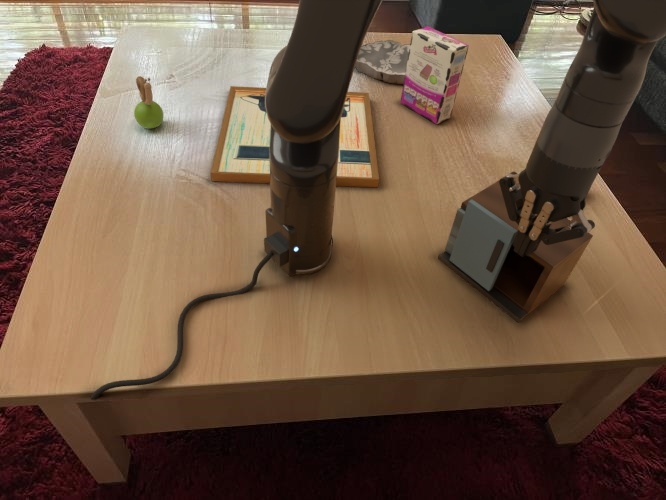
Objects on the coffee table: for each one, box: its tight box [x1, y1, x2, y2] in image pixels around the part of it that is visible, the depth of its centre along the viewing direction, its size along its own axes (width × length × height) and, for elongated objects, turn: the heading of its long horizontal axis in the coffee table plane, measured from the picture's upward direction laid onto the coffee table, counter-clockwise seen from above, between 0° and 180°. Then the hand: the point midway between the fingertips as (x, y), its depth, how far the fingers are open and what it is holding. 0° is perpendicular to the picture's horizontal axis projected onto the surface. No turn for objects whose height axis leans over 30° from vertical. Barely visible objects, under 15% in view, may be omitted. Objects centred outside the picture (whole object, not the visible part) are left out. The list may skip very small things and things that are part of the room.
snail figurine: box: [133, 75, 164, 130], centre depth 101 cm, size 5×6×12 cm
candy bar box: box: [399, 25, 470, 125], centre depth 110 cm, size 11×5×16 cm, turn 42°
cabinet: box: [437, 180, 594, 323], centre depth 80 cm, size 12×16×11 cm
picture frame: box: [209, 85, 380, 188], centre depth 105 cm, size 30×2×30 cm
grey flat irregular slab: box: [355, 39, 410, 85], centre depth 127 cm, size 20×17×3 cm
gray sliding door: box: [449, 200, 517, 291], centre depth 77 cm, size 1×8×12 cm, turn 39°
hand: (522, 251), depth 71 cm, fingers closed
